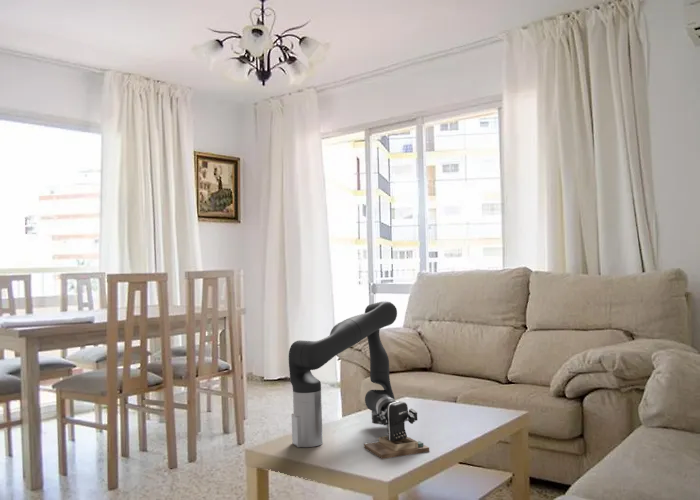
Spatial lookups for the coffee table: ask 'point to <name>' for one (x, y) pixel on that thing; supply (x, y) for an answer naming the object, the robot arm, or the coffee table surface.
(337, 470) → the coffee table surface
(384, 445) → the board
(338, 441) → the coffee table surface
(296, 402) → the robot arm
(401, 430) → the battery charger
